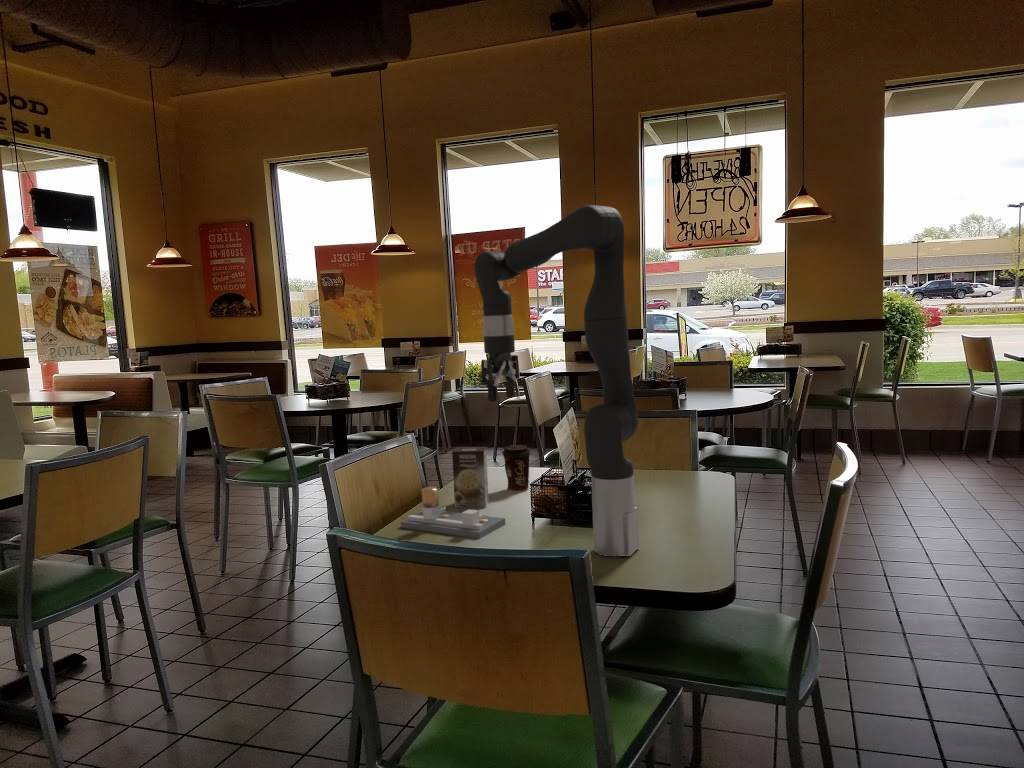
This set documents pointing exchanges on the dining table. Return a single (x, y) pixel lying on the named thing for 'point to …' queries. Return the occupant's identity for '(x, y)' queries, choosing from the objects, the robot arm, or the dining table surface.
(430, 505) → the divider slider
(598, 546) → the robot arm
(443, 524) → the plate
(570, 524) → the dining table surface
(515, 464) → the coffee cup
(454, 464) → the coffee box
